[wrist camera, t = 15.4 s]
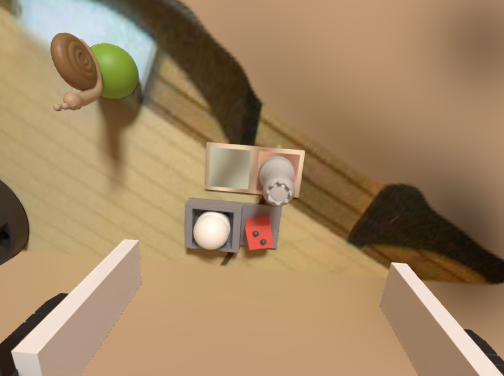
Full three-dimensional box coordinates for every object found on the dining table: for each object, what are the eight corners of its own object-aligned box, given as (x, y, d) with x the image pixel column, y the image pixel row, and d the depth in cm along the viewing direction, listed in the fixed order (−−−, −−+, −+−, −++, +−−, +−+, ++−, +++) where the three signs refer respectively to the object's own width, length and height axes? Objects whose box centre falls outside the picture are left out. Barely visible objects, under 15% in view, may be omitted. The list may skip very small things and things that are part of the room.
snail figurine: (112, 111, 33) (29, 117, 21) (94, 54, 31) (-9, 26, 19) (154, 103, 32) (92, 104, 21) (138, 44, 30) (60, 9, 19)
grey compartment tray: (190, 238, 37) (181, 253, 34) (190, 197, 36) (181, 208, 32) (276, 246, 37) (277, 262, 33) (281, 206, 35) (282, 218, 31)
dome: (198, 237, 36) (188, 254, 32) (198, 206, 35) (189, 221, 31) (230, 240, 36) (225, 258, 32) (232, 209, 35) (227, 224, 31)
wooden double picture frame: (205, 188, 35) (205, 189, 35) (206, 142, 33) (206, 142, 33) (298, 196, 35) (298, 197, 34) (304, 150, 33) (305, 151, 32)
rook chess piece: (288, 194, 34) (294, 220, 27) (254, 184, 34) (250, 208, 26) (299, 160, 33) (308, 178, 25) (264, 150, 33) (263, 166, 25)
